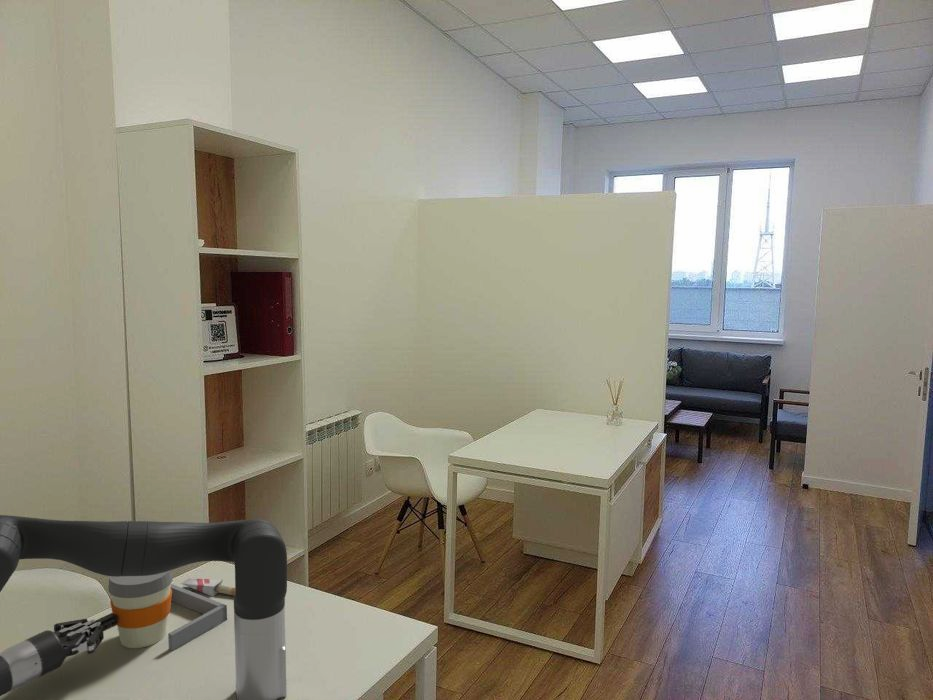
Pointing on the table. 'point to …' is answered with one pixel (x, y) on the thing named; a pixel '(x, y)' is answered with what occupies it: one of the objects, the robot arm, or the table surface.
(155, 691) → the table surface
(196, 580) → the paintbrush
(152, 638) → the reusable coffee cup
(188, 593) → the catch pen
